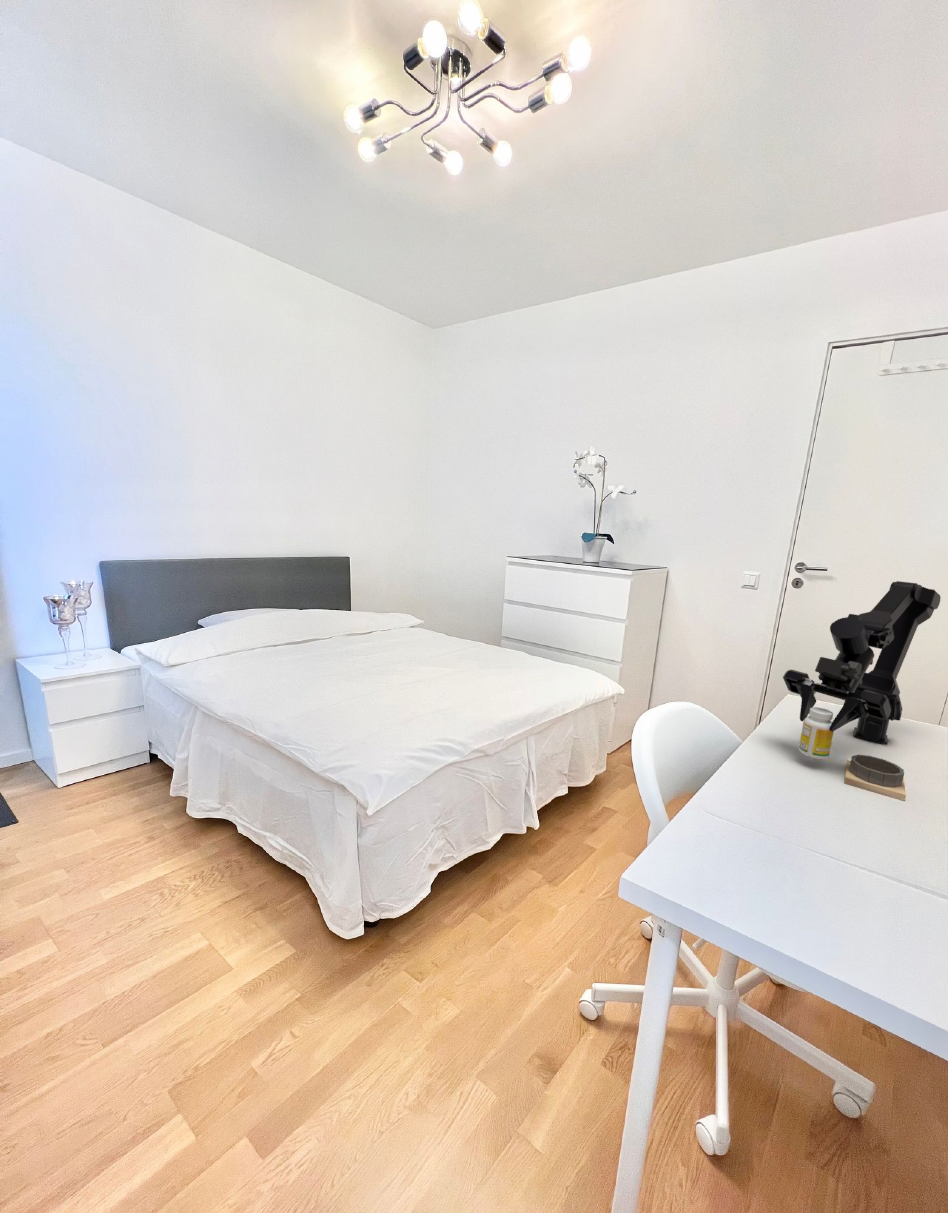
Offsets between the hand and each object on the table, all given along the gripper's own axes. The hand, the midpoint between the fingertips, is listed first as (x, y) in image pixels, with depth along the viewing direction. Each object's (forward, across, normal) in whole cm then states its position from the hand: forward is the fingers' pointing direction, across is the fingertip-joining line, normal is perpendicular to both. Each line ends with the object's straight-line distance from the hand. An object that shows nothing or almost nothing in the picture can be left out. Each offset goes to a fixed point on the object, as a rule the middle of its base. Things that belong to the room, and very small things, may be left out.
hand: (815, 725), depth 106 cm
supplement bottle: (+4, 0, +6) cm, 7 cm away
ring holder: (+3, +10, +10) cm, 14 cm away
